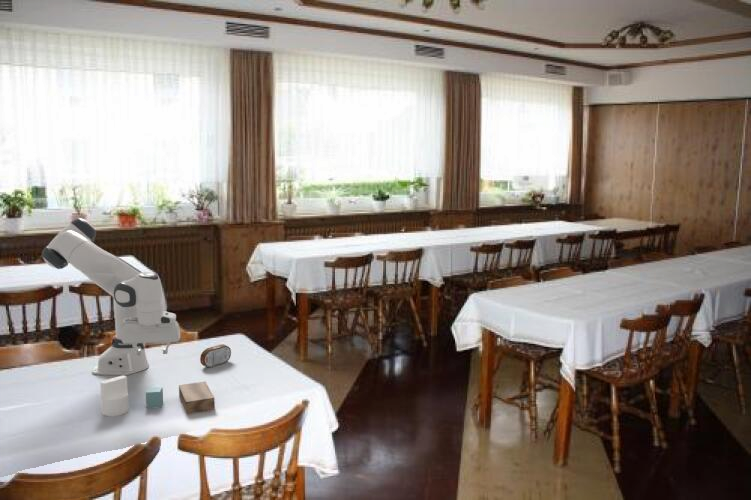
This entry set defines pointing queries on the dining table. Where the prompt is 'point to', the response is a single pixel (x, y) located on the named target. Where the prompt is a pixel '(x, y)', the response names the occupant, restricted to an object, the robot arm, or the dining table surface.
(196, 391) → the walnut block
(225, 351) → the tin
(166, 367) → the dining table surface
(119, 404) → the cylinder with rectangular tab
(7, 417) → the dining table surface
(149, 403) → the teal cube
